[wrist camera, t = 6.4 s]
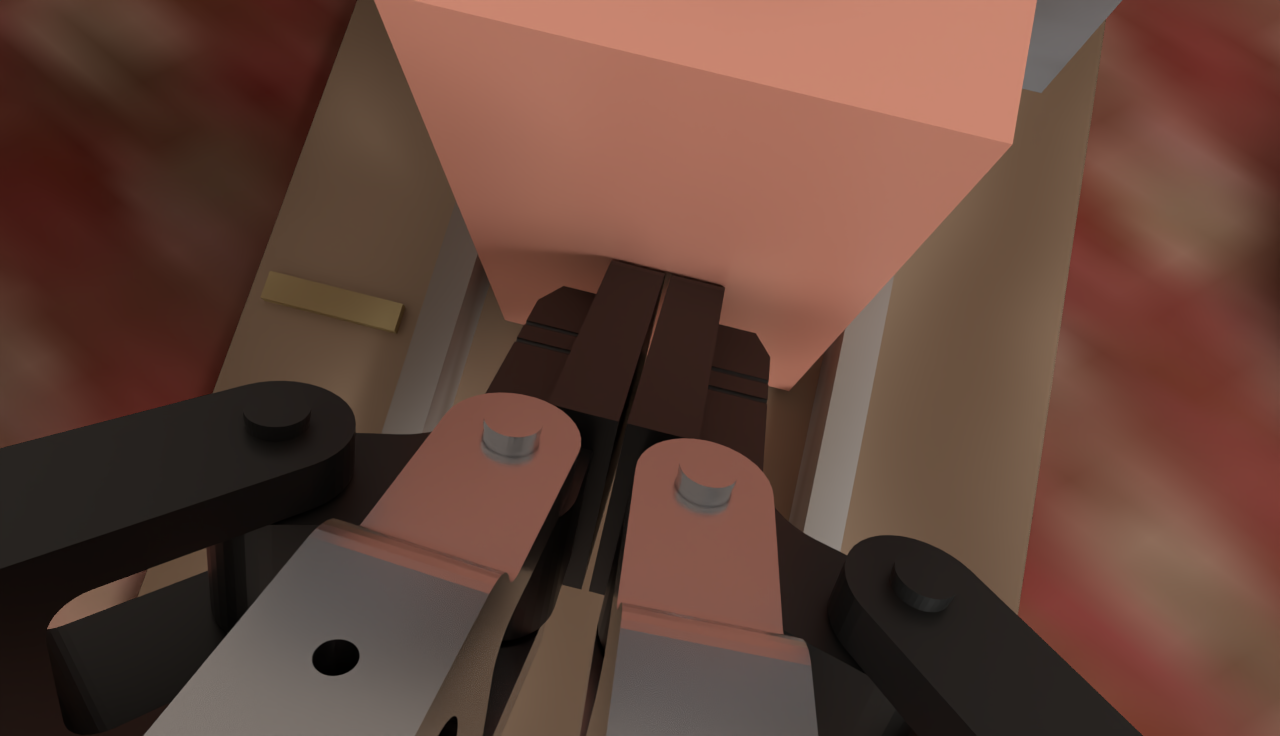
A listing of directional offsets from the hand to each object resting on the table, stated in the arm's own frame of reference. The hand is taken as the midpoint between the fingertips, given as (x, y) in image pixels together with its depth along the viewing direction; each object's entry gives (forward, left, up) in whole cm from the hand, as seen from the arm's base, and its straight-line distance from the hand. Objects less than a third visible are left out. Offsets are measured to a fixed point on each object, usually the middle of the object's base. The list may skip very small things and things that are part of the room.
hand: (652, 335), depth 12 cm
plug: (0, -3, -3) cm, 5 cm away
